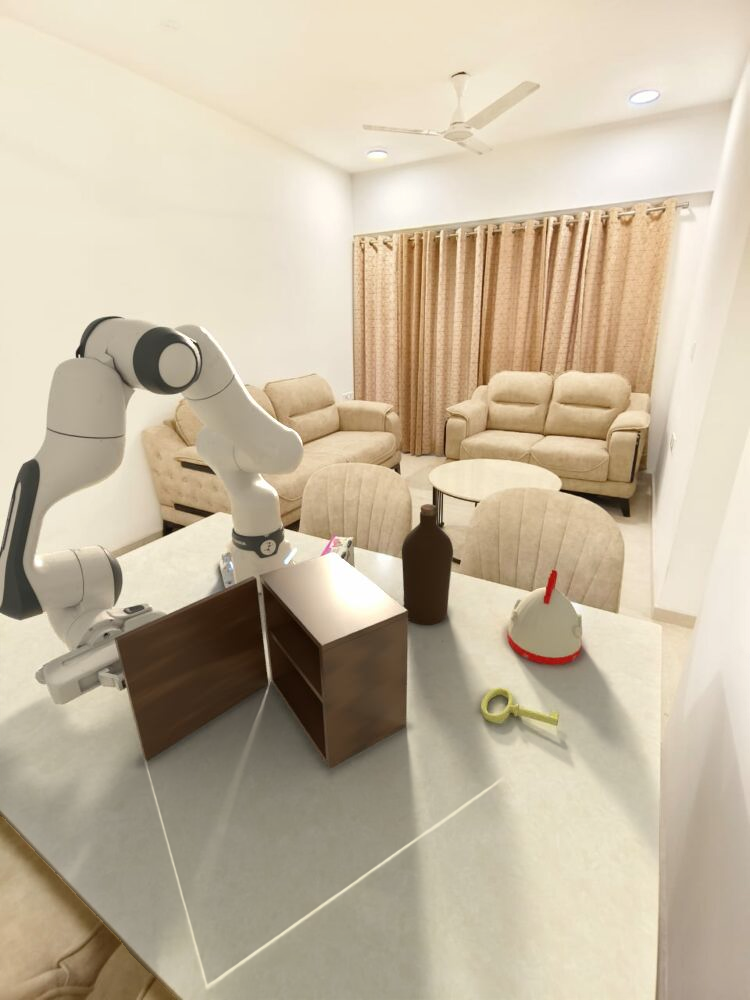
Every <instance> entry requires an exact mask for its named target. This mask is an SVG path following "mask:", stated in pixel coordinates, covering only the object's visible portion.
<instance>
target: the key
mask: <svg viewBox="0 0 750 1000" xmlns="http://www.w3.org/2000/svg"><path fill="white" fill-rule="evenodd" d="M497 696H503V697H505V698H506V699H507V700H508V702H507V705H506V707H505V708H504V709H503V710H502V711H501V712H499V713H491V712H489V711H488V705H489V702H490V700H491V699H493V698H494V697H497ZM480 711H481V714H482V716H483V718H484V719H485V720H486V721H488V722H490V723H496V724H497V723H502V722H503V721H505V720H507V719H508V717H509V716H510V714H511V713H512V714H513V716H514V717H518V716H522V717H524V718H528V719H531V720H535V721H539V722H542V723H546V724H549V725H553V726H555V727H557V726H558V725H559V716H560V711H557V712H556V710H551V712H550V715H549V714H545V713H542V712H538V711H535V710H532V709H528V708H525V707H522V706H520V704H519V703H516V704H514V697H513V694H512V692H511V691H510V690H509V689H507V688H504V687H495V688H493V689H490V690H489V691H488V692H487V693H486V694H485V695H484V697H483V698H482V701H481V703H480Z"/></svg>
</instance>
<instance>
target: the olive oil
mask: <svg viewBox="0 0 750 1000" xmlns="http://www.w3.org/2000/svg"><path fill="white" fill-rule="evenodd" d="M437 519H438V512H437V506H436V505H435V504H430V503H427V504H426V503H425V504H422V505H421V506H420V512H419V523H418V525H416V526H415V527H414V528H413V529H412V530H410V531H409V532H408V533H407V534H406V536H405V537H404V539H403V542H402V545H401V567H402V586H403V607H404V608H405V609H407V610H408V621H411V622H412V623H415V624H418V625H425V626H426V625H435V624H438V623H440V622H442V621H444V620H445V619H446V617H447V616H448V608H449V607H448V605H449V598H450V597H449V596H450V586H451V576H452V568H453V567H452V566H453V558H454V547H453V543H452V540H451V538H450V536H449V535H448V534H447V533H446V531H444V530H443V529H442V528H441V527H440V526H439V525H438V524H437V521H438V520H437Z"/></svg>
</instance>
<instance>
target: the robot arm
mask: <svg viewBox="0 0 750 1000" xmlns="http://www.w3.org/2000/svg"><path fill="white" fill-rule="evenodd" d="M135 389H138V390H143V391H147V392H150V393H152V394H155V395H163V396H172V395H177V394H181V395H182V397H183V398H184V399H185V401H186V403H187V404H188V405H189V407H190V408H191V410H192V411H193V413H194V414H195V415H196V417H197V419H198V420H199V421H200V423H201V424H202V425H203V426H202V427H201V428H200V429H199V431H198V433H197V435H196V438H195V439H196V440H195V449H196V453H197V456H198V457H199V459H200V460H201V461H202V462H203V463H204V464H205V465H207V466H208V468H210V469H211V470H212V471H213V473H214V474H215V475H216V477H217V478H218V480H219V481H220V483H221V485H222V487H223V489H224V492H225V494H226V496H227V499H228V503H229V507H230V512H231V513H230V514H231V519H232V526H233V527H232V529H231V540H230V542H228V543H227V544H226V546H225V547H226V552H225V553H221V559H220V560H219V561H218V562H219V563H218V565H219V566H218V567H219V569H220V573H221V574H220V575H221V578H222V581H223V585H224V589H225V588H228V587H230V586H232V585H234V584H236V583H239V582H241V581H243V580H245V579H248V578H250V577H252V576H254V577H255V578H256V579H257V588H258V594H261V586H260V577H259V575H261V574H264V573H267V572H270V571H274V570H277V569H280V568H284V567H287V566H290V565H294V564H297V563H296V562H295V561H294V560H293V556H295V554H296V553H297V548H296V547H295V548H294V549H293V550H292V548H291V547H292V546H291V543H290V541H289V540H287V538H285V527H284V523H283V522H282V517H281V505H280V497H279V494H278V492H277V490H276V489H275V488H274V487H273V486H272V485H270V484H269V483H268V482H267V481H266V480H265V479H264V478H263V476H262V475H266V476H279V475H289V474H292V473H294V472H295V471H297V469H298V468H299V467H300V465H301V463H302V461H303V457H304V444H303V440H302V438H301V436H300V435H299V433H298V432H297V431H296V430H294V429H292V428H289V427H287V426H285V425H283V423H281V422H279V421H277V420H276V419H275V418H274V417H272V416H271V415H270V414H269V413H268V412H267V411H266V410H265V409H263V408H262V407H261V406H260V405H259V404H258V403H257V402H256V401H255V400H254V398H253V397H252V396H251V395H250V393H249V391H248V390H247V388H246V387H245V385H244V383H243V382H242V380H241V378H240V376H239V375H238V373H237V372H236V370H235V368H234V366H233V364H232V362H231V360H230V359H229V357H228V356H227V354H226V353H225V352H224V350H223V349H222V348H221V346H220V344H219V343H218V342H217V341H216V340H215V338H214V337H213V336H212V335H211V334H210V333H209V331H208V330H206V329H205V328H204V327H202V326H200V325H198V324H195V323H193V324H192V323H187V324H181V325H178V326H176V327H174V328H172V327H167V326H163V325H159V324H157V323H154V322H151V321H147V320H143V319H134V318H125V317H122V316H117V315H110V316H103V317H102V316H101V317H99V318H96V319H94V320H92V321H91V322H90V323H89V324H88V325H87V326H86V327H85V329H84V331H83V333H82V334H81V338H80V340H79V345H78V346H77V348H76V350H75V357H74V358H70V359H67V360H64V361H61V363H59V364H58V365H57V366H56V368H55V370H54V372H53V375H52V379H51V384H50V389H49V394H48V399H47V407H46V408H47V409H46V426H45V427H46V429H45V436H44V439H43V442H42V444H41V446H40V448H39V450H38V451H37V453H36V454H35V455H34V457H33V458H31V459H29V460H27V461H25V462H23V463H22V465H21V466H20V469H19V471H18V473H17V476H16V479H15V482H14V486H13V490H12V494H11V498H10V502H9V507H8V511H7V517H6V520H5V526H4V531H3V536H2V540H1V545H0V614H2V615H3V616H6V617H8V618H10V619H14V620H17V621H23V620H27V619H30V618H33V617H36V616H39V615H43V614H45V613H46V617H47V620H48V622H49V625H50V627H51V629H52V631H53V632H54V634H55V635H56V636H57V638H58V639H59V640H60V641H61V642H62V643H63V644H65V645H66V647H67V648H68V651H69V652H67V653H64V654H62V655H60V656H58V657H55V658H53V659H52V660H50V661H48V662H46V663H44V664H43V665H42V667H41V668H40V669H38V670H37V671H36V672H35V674H34V678H35V680H36V681H37V683H39V684H40V685H46V688H47V691H48V693H49V696H50V699H51V700H52V703H53V704H55V705H66V704H68V703H71V702H72V701H74V700H76V699H77V698H80V697H82V696H83V695H85V694H87V693H89V692H91V691H93V690H95V689H96V688H99V687H100V686H102V687H105V688H116V690H117V691H118V692H121V691H124V690H125V689H127V688H126V684H125V680H124V676H123V672H122V668H121V664H120V660H119V656H118V651H117V647H116V643H115V639H114V638H116V637H118V636H120V635H123V634H125V633H127V632H129V631H132V630H134V629H136V628H138V627H140V626H143V625H145V624H147V623H149V622H152V621H154V620H156V619H158V618H161V617H163V616H165V615H167V614H168V613H166V612H163V611H160V610H153V607H152V605H151V604H150V603H140V604H137V605H132V606H127V607H122V608H114V607H115V606H116V605H117V604H118V603H117V602H118V601H119V598H120V596H121V594H122V590H123V578H124V577H123V570H122V567H121V565H120V563H119V560H118V559H117V558H116V557H115V556H114V554H112V553H111V551H109V550H108V549H106V548H105V547H103V546H101V545H90V546H83V547H76V548H70V549H66V550H60V551H53V552H46V553H40V554H37V550H38V546H39V541H40V536H41V533H42V527H43V524H44V519H45V517H46V514H47V513H48V512H49V510H51V508H52V507H53V506H55V505H56V504H57V503H59V502H60V501H62V500H63V499H65V498H67V497H69V496H71V495H73V494H76V493H79V492H81V491H83V490H85V489H89V488H92V487H94V486H96V485H98V484H100V483H102V482H104V481H106V480H107V479H108V478H110V477H112V475H113V474H114V473H115V472H116V471H117V470H119V468H121V467H120V466H121V465H122V464H123V463H122V462H123V461H124V457H125V452H126V451H125V450H126V442H127V441H126V440H127V439H126V438H127V408H128V405H129V403H130V400H131V398H132V397H133V395H134V393H135V392H136V390H135Z"/></svg>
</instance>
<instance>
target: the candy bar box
mask: <svg viewBox="0 0 750 1000" xmlns="http://www.w3.org/2000/svg"><path fill="white" fill-rule="evenodd" d="M333 552H334V553H335V554H337V555H338V556H339V557H340V558H342V559H343V560H344V561H346V562H347V563H348V564H349V565H351V566H352V567H353V568H354V569H356V568H355V547H354V537H353V536H351V537H350V536H339V535H333V536H331V538H330V540H329V542H328V543H327V545H326V546H325V548H324V550H323V551H322V553H321V554H320V556H323V555H327V554H330V553H333Z"/></svg>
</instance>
